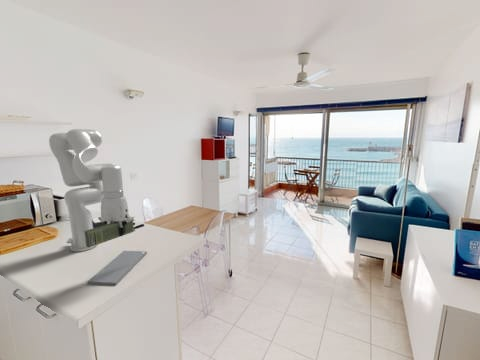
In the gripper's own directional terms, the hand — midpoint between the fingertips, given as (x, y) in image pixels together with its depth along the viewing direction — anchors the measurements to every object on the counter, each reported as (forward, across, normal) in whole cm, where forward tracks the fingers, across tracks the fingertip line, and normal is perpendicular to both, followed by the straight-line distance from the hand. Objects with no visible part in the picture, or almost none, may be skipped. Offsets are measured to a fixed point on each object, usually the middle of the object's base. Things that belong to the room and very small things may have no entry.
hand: (117, 234), depth 103 cm
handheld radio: (+1, +1, 0) cm, 1 cm away
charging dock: (+15, 0, 0) cm, 15 cm away
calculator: (+16, -42, +52) cm, 69 cm away
